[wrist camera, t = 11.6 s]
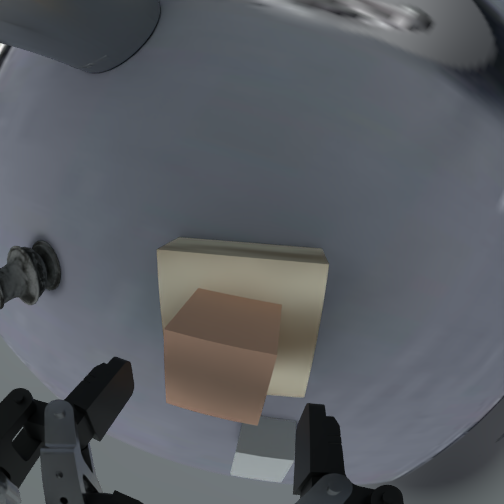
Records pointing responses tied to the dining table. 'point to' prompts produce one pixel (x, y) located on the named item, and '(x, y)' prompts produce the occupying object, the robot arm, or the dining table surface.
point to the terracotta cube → (221, 355)
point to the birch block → (254, 292)
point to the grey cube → (265, 450)
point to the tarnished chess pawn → (29, 273)
